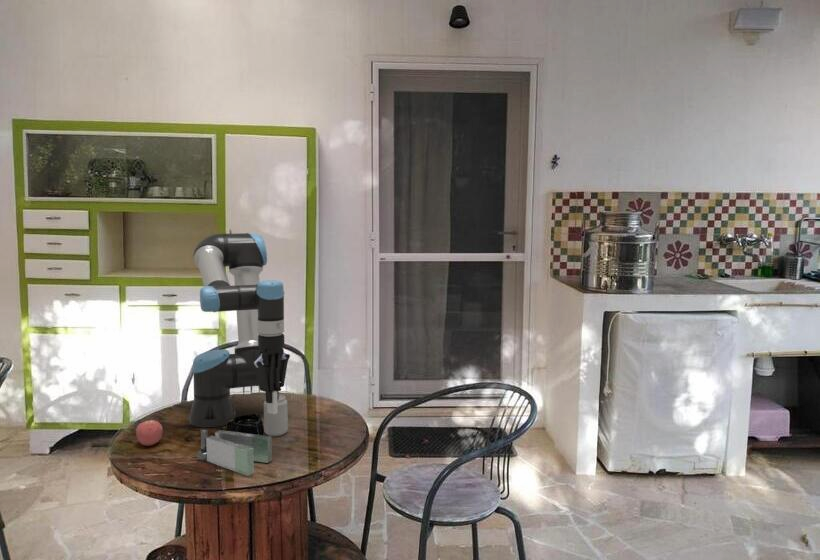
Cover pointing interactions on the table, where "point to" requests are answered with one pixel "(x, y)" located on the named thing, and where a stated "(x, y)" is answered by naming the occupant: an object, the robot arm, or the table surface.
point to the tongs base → (226, 454)
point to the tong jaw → (250, 443)
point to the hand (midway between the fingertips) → (272, 412)
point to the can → (276, 418)
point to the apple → (149, 432)
